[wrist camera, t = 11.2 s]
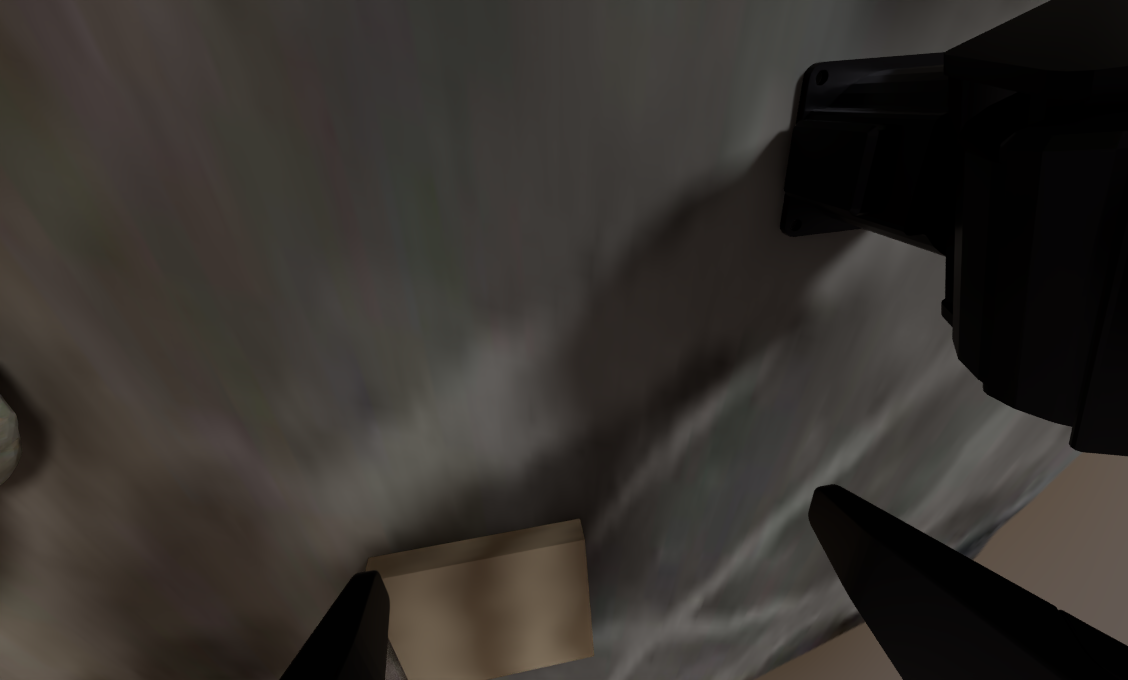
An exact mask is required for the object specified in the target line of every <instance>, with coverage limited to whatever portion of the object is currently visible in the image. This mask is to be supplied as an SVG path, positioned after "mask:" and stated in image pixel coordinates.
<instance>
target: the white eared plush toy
mask: <svg viewBox="0 0 1128 680" xmlns="http://www.w3.org/2000/svg"><path fill="white" fill-rule="evenodd" d="M21 454H22V447H21V437H20V433H19V430H18V419H17V416H16V414H15V412H14V411H13V410H12V409H11V407H10V406H9V405H8V404H7V402H6V401H5V400H4V398H3V397H2V395H1V394H0V486H1V485H2V484H3V483H4V482H5V481H6V480H7V479H8V478H9V477H10V476H11V474H12V473H13V471H14V469H15V468H16V466H17V465H18V463H19V460H20V457H21Z"/></svg>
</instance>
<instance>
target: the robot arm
mask: <svg viewBox="0 0 1128 680" xmlns="http://www.w3.org/2000/svg"><path fill="white" fill-rule="evenodd" d="M819 71H820V72H821V75H822V78H821V80H820V82H819V83H818V84H817V83H816V76H817V74H818V73H819ZM784 191H785V196H784V203H783V209H782V215H781V222H780V229H781V231H782V232H783V233H784V234H786V235H788V236H792V237H796V236H804V235H812V234H820V233H829V232H837V231H845V230H853V229H861V228H863V229H866V230H869V231H872V232H874V233H877V234H880V235H883V236H886V237H889V238H892V239H895V240H898V241H901V242H904V243H907V244H910V245H913V246H916V247H919V248H922V249H925V250H928V251H931V252H934V253H937V254H939V255H942V256H945V257H946V280H945V299H944V300H942V302H941V315H942V316H943V318H944V319H945V320H946V321H947V322H948V323H949V324H950V325H951V326H952V327H953V333H952V339H953V343H954V346H955V350H956V353H957V357H958V359H959V360H960V361H961V362H962V363H963V364H964V365H965V366H966V367H967V368H968V369H969V370H970V372H971V373H972V374H973V375H974V376H975V377H976V378H977V379H978V380H980V381H981V382H983V391H984V392H985V393H986V394H987V395H989V396H991V397H993V398H995V399H997V400H999V401H1001V402H1002V403H1004V404H1006V405H1008V406H1010V407H1012V408H1014V409H1017V410H1019V411H1022V412H1025V413H1028V414H1031V415H1034V416H1037V417H1039V418H1042V419H1045V420H1048V421H1051V422H1054V423H1058V424H1062V425H1066V426H1071V427H1072V432H1071V436H1070V441H1069V445H1070V447H1072V448H1073V449H1075V450H1077V451H1080V452H1086V453H1098V454H1110V455H1120V456H1128V0H1050V1H1048V2H1046V3H1044V4H1042V5H1040V6H1038V7H1036V8H1034V9H1032V10H1030V11H1028V12H1026V13H1024V14H1022V15H1019V16H1017V17H1015V18H1013V19H1011V20H1009V21H1007V22H1005V23H1003V24H1001V25H999V26H997V27H995V28H993V29H991V30H989V31H987V32H985V33H983V34H980V35H978V36H976V37H974V38H972V39H970V40H968V41H966V42H964V43H962V44H960V45H958V46H956V47H954V48H952V49H950V50H948V51H946V52H942V53H930V54H917V55H905V56H892V57H880V58H867V59H855V60H842V61H830V62H819V63H815V64H813V65H811V66H810V67H809V68H808V69H807V71H806V72H805V74H804V78H803V82H802V89H801V95H800V101H799V108H798V114H797V120H796V125H795V127H794V129H793V135H792V141H791V147H790V154H789V160H788V167H787V173H786V179H785V186H784ZM794 220H796V224H795V226H794V227H793V228H791V224H792V222H793V221H794ZM808 517H809V521H810V524H811V526H812V528H813V530H814V532H815V534H816V536H817V538H818V540H819V542H820V543H821V545H822V547H823V549H824V551H825V553H826V555H827V557H828V558H829V560H830V562H831V564H832V566H833V568H834V570H835V572H836V574H837V575H838V577H839V579H840V581H841V583H842V585H843V587H844V588H845V590H846V592H847V594H848V595H849V597H850V599H851V600H852V602H853V604H854V605H855V607H856V608H857V610H858V611H859V613H860V614H861V616H862V618H863V619H864V621H865V622H866V624H867V625H868V627H869V628H870V630H871V631H872V633H873V634H874V636H875V637H876V639H877V641H878V642H879V644H880V645H881V647H882V648H883V650H884V651H885V653H886V654H887V656H888V657H889V659H890V660H891V662H892V664H893V665H894V667H895V668H896V670H897V671H898V673H899V674H900V676H901V677H902V679H903V680H1128V646H1127V645H1125V644H1123V643H1121V642H1120V641H1118V640H1116V639H1114V638H1112V637H1110V636H1109V635H1107V634H1105V633H1103V632H1101V631H1099V630H1097V629H1096V628H1094V627H1092V626H1090V625H1088V624H1086V623H1085V622H1083V621H1081V620H1079V619H1078V618H1076V617H1074V616H1072V615H1070V614H1069V613H1067V612H1065V611H1063V610H1058V609H1057V607H1055V606H1054V605H1052V604H1050V603H1049V602H1047V601H1045V600H1043V599H1041V598H1039V597H1038V596H1036V595H1034V594H1032V593H1031V592H1029V591H1027V590H1025V589H1024V588H1022V587H1020V586H1018V585H1016V584H1015V583H1013V582H1011V581H1009V580H1007V579H1005V578H1004V577H1002V576H1000V575H998V574H997V573H995V572H993V571H991V570H989V569H988V568H986V567H984V566H982V565H981V564H979V563H977V562H975V561H973V560H972V559H970V558H968V557H966V556H964V555H963V554H961V553H959V552H957V551H955V550H954V549H952V548H950V547H948V546H947V545H945V544H943V543H941V542H939V541H938V540H936V539H934V538H932V537H930V536H929V535H927V534H925V533H923V532H921V531H920V530H918V529H916V528H914V527H912V526H911V525H909V524H907V523H905V522H904V521H902V520H900V519H898V518H896V517H895V516H893V515H891V514H889V513H887V512H886V511H884V510H882V509H880V508H878V507H877V506H875V505H873V504H871V503H869V502H868V501H866V500H864V499H862V498H861V497H859V496H857V495H855V494H853V493H852V492H850V491H848V490H846V489H844V488H843V487H841V486H838V485H835V484H831V485H826V486H820V487H817V488H816V489H815V491H814V494H813V497H812V501H811V505H810V508H809V513H808ZM389 615H390V598H389V594H388V592H387V589H386V587H385V585H384V582H383V580H382V578H381V575H380V573H379V572H378V571H377V570H371V571H365V572H360V573H357V574H355V575H354V576H353V577H352V578H351V579H350V581H349V582H348V583H347V585H346V586H345V588H344V589H343V590H342V592H341V593H340V595H339V596H338V597H337V599H336V600H335V602H334V603H333V605H332V606H331V607H330V609H329V610H328V612H327V613H326V614H325V616H324V617H323V619H322V620H321V621H320V623H319V624H318V626H317V627H316V629H315V630H314V631H313V633H312V634H311V636H310V637H309V638H308V640H307V641H306V643H305V644H304V645H303V647H302V648H301V650H300V651H299V652H298V654H297V655H296V657H295V658H294V660H293V661H292V662H291V664H290V665H289V667H288V668H287V669H286V671H285V672H284V674H283V675H282V676H281V678H280V679H279V680H385V671H386V657H387V643H388V629H389Z"/></svg>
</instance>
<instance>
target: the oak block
mask: <svg viewBox="0 0 1128 680" xmlns="http://www.w3.org/2000/svg"><path fill="white" fill-rule="evenodd" d="M371 570H377V571H378V572H379V573H380V575H381V578H382V580H383V582H384V585H385V587H386V589H387V592H388V594H389V598H390V615H389V629H388V638H389V640H390V642H391V645H392V647H393V649H394V651H395V653H396V655H397V657H398V660H399V662H400V664H401V666H402V668H403V670H404V672H405V675H406V677H407V679H408V680H488V679H493V678H497V677H502V676H506V675H511V674H515V673H520V672H524V671H529V670H533V669H538V668H542V667H547V666H551V665H556V664H560V663H565V662H569V661H574V660H578V659H583V658H587V657H592V656H594V648H593V636H592V623H591V611H590V598H589V586H588V573H587V561H586V548H585V538H584V534H583V530H582V526H581V521H580V519H575V520H570V521H564V522H559V523H553V524H548V525H543V526H537V527H532V528H527V529H521V530H516V531H510V532H505V533H500V534H494V535H489V536H483V537H478V538H473V539H467V540H462V541H457V542H451V543H446V544H440V545H435V546H430V547H424V548H419V549H414V550H408V551H403V552H397V553H392V554H387V555H381V556H376V557H370V558H368V562H367V566H366V570H365V571H371Z"/></svg>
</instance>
